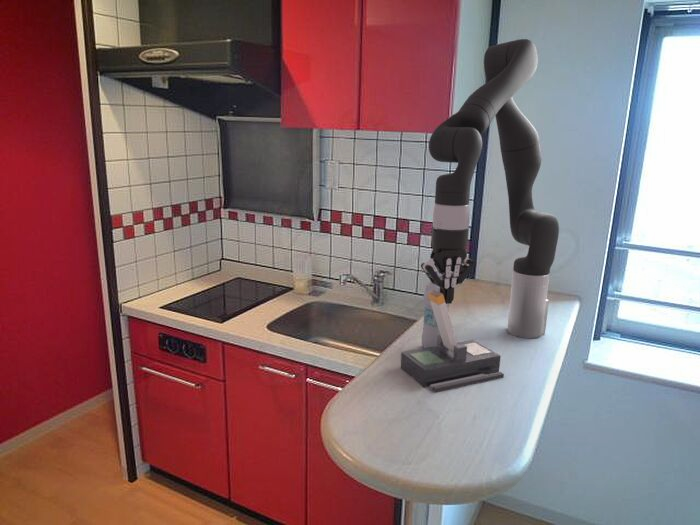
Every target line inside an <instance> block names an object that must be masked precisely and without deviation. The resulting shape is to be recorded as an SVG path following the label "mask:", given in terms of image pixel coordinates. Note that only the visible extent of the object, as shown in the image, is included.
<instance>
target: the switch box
mask: <svg viewBox="0 0 700 525" xmlns="http://www.w3.org/2000/svg"><path fill="white" fill-rule="evenodd" d="M457 344H458V345H456V346H454V352H452V351H451V350H449V349H448V348H446V347H445V346H444V345H443V342H442V338H441V335H437V346H434V347H428V348H425V347H423V348H418V349H417V348H416V349H412V350H411V349H410V350H407V351H402V352H401V353H400V369H401V370H402V371H403V372H404V373H405V374H407V375H408V376H409V377H410V378H412V379H413V380H414V381H415V382H416V383H418V384H419V385H420V386H421V387H423V388H424V389H426V388H430V385H431V384H436V383H441V382H446V381H450V380H455V379H460V378H465V377H470V376H474V375H479V374H485V375H490V374H495V373H499V372H500V367H501V355H500V354H498V353H497V352H495V351H493V350H492V349H490V348H488V347H486V346H485V345H484V344H481V343H480V342H478V341H477V340H475V339H469V340H464V341H457Z"/></svg>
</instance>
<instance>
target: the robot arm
mask: <svg viewBox="0 0 700 525" xmlns="http://www.w3.org/2000/svg"><path fill="white" fill-rule="evenodd" d="M537 51H538V50H537V48H536V45H535V44H534V42H533V41H532V40H530V39H528V38H521V39H520V38H519V39H515V40H510V41H506V42H503V43H501V42H500V43H499V44H495V45H494V44H493V45H491V46H489V47H487V48H486V51H485V53H484V57H483V69H484V70H483V71H484V76H485V81H486V83H484V84H483V85H480V87H478V88H477V89H476V90H474V91H473V92H472V93H471V94H469V96H468V98H466V100H465V101H464V103H463V104H462V106H461V107H460V108H459V110H458V111H457V112H455V113H454V114H452V115H451V116H450V117H448V118H447V119H446V120H444V121H443V122H442V123H440V124H439V125H437V127H436V128H435V129H434V130H433V132H432V134H431V136H430V138H429V141H428V153H429V154H430V156H431V157H432V159H433V160H435V161H437V162H441V163H452V164H453V163H456V164H457V165H456V168H455V170H454V171H453V172H452V173H445V174H441V175H439V176H438V177H437V178H436V181H435V191H434V192H435V194H434V206H433V207H434V208H433V213H432V230H431V247H432V252H431V253H430V256H429V258H430V259H428V260H427V261H426V262H422V263H421V265H420V268H421V270H422V271H423V272H424V274H425V276H427V278H428V279H429V282H430V281H431V282H432V283H433V284H435V285H437V286H439V287H440V293H442V294H443V296H444V299H445V303H446V304H450V305H452V304H453V301H454V298H455V288H456V286H457V285H461V284H463V282H464V281H465V279H466V278H467V276H468V275H469V274H470V272H471V271H472V270H473V267H474V266H475V265H476V261H475V260H473V259H470V258H469V257H468V252H467V247H468V243H469V231H470V230H469V229H470V228H469V227H470V198H471V196H470V194H471V184H472V181H473V177H474V173H475V170H476V168H477V164H478V162H479V159H480V156H481V153H482V149H483V139H482V135H483V134H484V133H485V131H487V129H488V127H489V126H490V125H491V123H492V121H493V120H494V119H495V122H496V126H497V133H498V137H499V138H498V140H499V146H500V153H501V154H500V155H501V159H502V164H503V165H502V166H503V170H504V174H505V175H504V176H505V180H506V182H505V183H506V190H507V196H508V211H509V213H508V214H509V226H510V233H511V236H512V238H513V239H514V240H515V242H517V243H519V244H521V245H524V246H529V247H528V250H527V253H526V254H527V255H526V256H522V257H517V258H515V259H514V261H513V268H512V276H511V286H510V288H511V289H510V295H509V296H510V298H509V305H508V306H509V307H508V309H509V310H508V317H507V325H506V328H507V329H506V330H507V332H508V333H509V334H511V335H513V336H514V337H515V336H516V337H519V338H524V339H536V338H540V337H542V336H543V335H544V334H546V329H547V320H548V312H549V304H550V300H549V299H548V298H547V297H548V290H549V280H550V273H551V267H552V265H553V263H554V261H555V258H556V252H557V251H556V250H557V245H558V240H559V234H560V226H559V221H558V218H557V217H556V216H555V215H554V214H551V213H547V212H545V211H543V212H542V211H537V210H535V206H534V202H533V186H534V183H535V181H536V179H537V176H538V173H539V172H540V170H541V166H542V161H543V158H542V151H541V142H540V136H539V133H538V131H537V130H536V128H535V127H534V125H533V124H532V123H531V122H530V120H529V119H528V118H527V117H526V116H525V114H523V112H522V111H521V110H520V109H519V107H518V106H517V104H516V102H515V100H514V98H513V96H514V95H515V94H516V93H518V91H519V90H520V89H521V88H522V87H523V86H524V85H525V84H527V82H528V81H530V79H531V78H532V77H533V76H534V75H535V73H536V71H537V67H538V61H539V58H538V57H539V56H538V52H537ZM435 270H436V271H437V274H436V272H435Z"/></svg>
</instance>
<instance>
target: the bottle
mask: <svg viewBox="0 0 700 525" xmlns="http://www.w3.org/2000/svg"><path fill="white" fill-rule="evenodd" d="M434 271H435V270H434ZM435 272H436V274H437V270H436V271H435ZM433 289H434V290H436V291H438V292H440V287H439V286H437V285H435V284H433V283H432V282H431V281H430V280H429V281H428V282H427V283H426V284H425V287H424V291H423V292H424V293H423V303H424V311H423V312H424V313H423V326H422V334H421V344H422V347H423V348H428V347H434V346H437V335H440V332H439V329H438V325H437V322H436V319H435V315H434V312H433V309H432V305H431V302H430V299H429V296H428V292H429V291H431V290H433ZM450 305H451V304H446V306H447V310H448V313H449V310H450Z"/></svg>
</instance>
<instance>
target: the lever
mask: <svg viewBox="0 0 700 525" xmlns="http://www.w3.org/2000/svg"><path fill="white" fill-rule="evenodd" d="M428 296H429V299H430V302H431V305H432V309H433V312H434V315H435V319H436V322H437V325H438V329H439V332H440V335H441V338H442V342H443V345H444V346H445V347H446V348H448V349H449V350H451V351H452V352H454V346H456V345H458V344H457V342H458V341H457V338H456V335H455V331H454V330H455V329H454V327H453V325H452V320H451V317H450V314H449V313H448V310H447V306H446V303H445V299H444V296H443V294H442V293H440V292H438V291H436V290H434V289H433V290H431V291H429V292H428Z"/></svg>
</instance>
